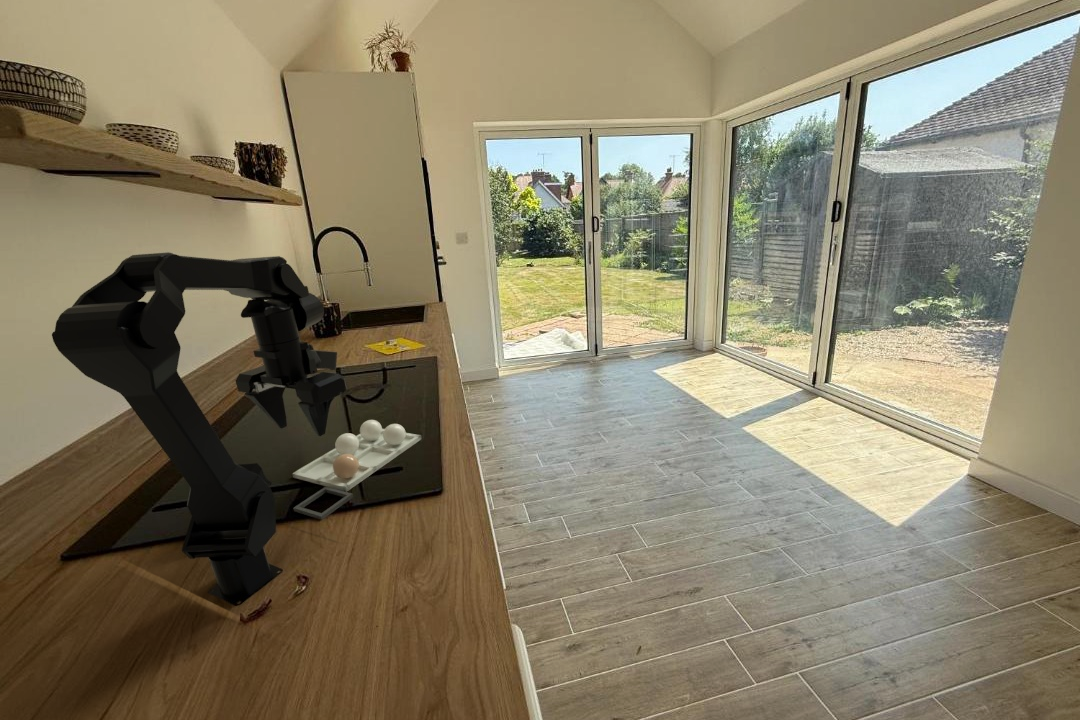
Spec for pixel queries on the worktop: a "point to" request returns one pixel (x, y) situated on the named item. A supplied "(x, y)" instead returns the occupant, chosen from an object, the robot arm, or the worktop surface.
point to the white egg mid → (347, 444)
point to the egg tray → (368, 456)
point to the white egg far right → (370, 430)
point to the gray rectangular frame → (321, 516)
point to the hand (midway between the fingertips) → (302, 431)
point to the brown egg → (345, 466)
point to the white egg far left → (394, 434)
